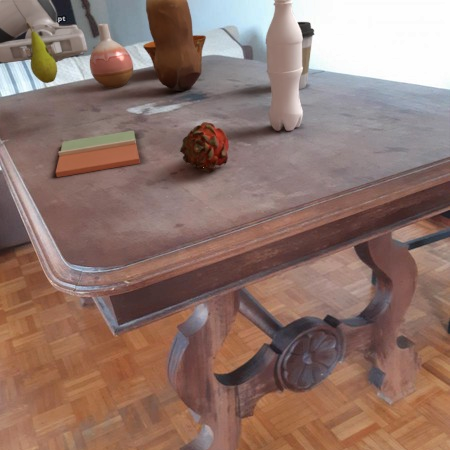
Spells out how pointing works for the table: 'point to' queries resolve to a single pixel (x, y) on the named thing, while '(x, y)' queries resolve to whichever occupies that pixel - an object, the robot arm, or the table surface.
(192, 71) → the butternut squash
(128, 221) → the table surface
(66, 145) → the sorting board
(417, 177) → the table surface
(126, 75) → the vase
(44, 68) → the fruit
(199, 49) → the bowl
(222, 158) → the dragon fruit
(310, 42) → the coffee cup
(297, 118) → the water bottle
